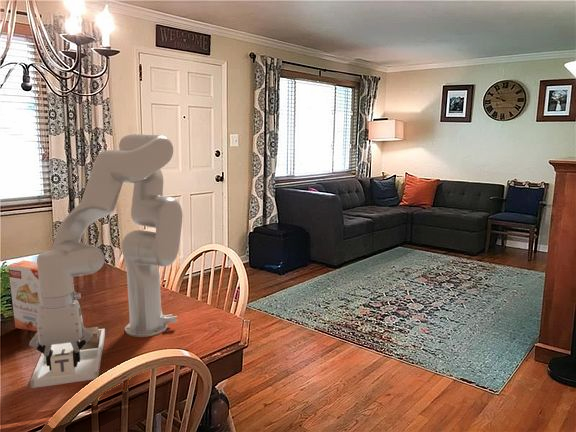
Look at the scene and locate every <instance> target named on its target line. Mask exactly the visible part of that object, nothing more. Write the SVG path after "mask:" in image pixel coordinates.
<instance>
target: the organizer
mask: <svg viewBox="0 0 576 432" xmlns="http://www.w3.org/2000/svg"><path fill="white" fill-rule="evenodd" d="M98 329H99V346H98V348H94V349H86V350H81V349H80V362H78V364H77V367H75V371H74V374H68V375H61V376H54V377H52V370H51V371H50V369H49V366H47V363H46V356H44V354H43V353H41V354H40V357H39V359H38V361H37V364H36V366H35V369H34V371H33V374H32V376H31V378H30V380H29V385H30V389H37V388H44V387H51V386H57V385H65V384H71V383H77V382H85V381H86V382H87V381H92V380H96V379H95V378H96V377H98V378H99V374H100V368H101V361H102V355H103V350H104V343H105V336H106V329H105V328H98ZM79 342H80V340H79ZM45 346H46V345H45ZM68 347H72V345H71V343H63V344H55V345H52V347H51V350H54V349H60V348H68Z"/></svg>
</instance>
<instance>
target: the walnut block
mask: <svg viewBox="0 0 576 432" xmlns="http://www.w3.org/2000/svg"><path fill="white" fill-rule="evenodd" d="M85 328H86V329H87V330H88V331H90V332H91V333H92V334H93V337H92V339H91V340H89V341H88V342H87V343H86V344H85V345H84V346H83V347H82V348H81V350H86V349H94V348H98V346H99V329H100V328H99V326H93V327H85ZM84 337H85V336H84V335H83V334H82V339H83V338H84ZM80 341H81V340H80Z"/></svg>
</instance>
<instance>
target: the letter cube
mask: <svg viewBox="0 0 576 432" xmlns="http://www.w3.org/2000/svg"><path fill="white" fill-rule="evenodd" d="M73 350H74V349H73V347H68V348H60V349H54V350H53V354H52V356H51V358H50V360H51V370H52V377H54V376H61V375H68V374H74V371H75V367H74V362H73Z"/></svg>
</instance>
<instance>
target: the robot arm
mask: <svg viewBox="0 0 576 432" xmlns="http://www.w3.org/2000/svg"><path fill="white" fill-rule="evenodd" d="M173 155H174V145H173V143H172V142H171V140H170V139H169V138H168V137H166V136H164V135H161V134H160V135H159V134H136V133H135V134H127V135H125V136H123V137H122V138H120V141H119V144H118V149H112V150H110V149H109V150H104V151H103V150H102V151H101V152H100V153H99V154H97V156H96V158H94V159H95V160H94V163H93V166H92V168H91V170H90V171H91V172H90V173H89V174H90V175H89V177H88V179H87V180H88V181H87V183H86V187H85V190H84V192H83V194H82V198H81V200H80V202H79V204H78V205H77V206H75V207H74V208H73V209H72V210H71V211H70V213H69V214H68V215H67V216H66V217H65V218H64V219H63V220H62V222H61V224H60V225H59V227H58V229H57V232H56V235H55V237H54V239H53V243H52V246H51V250H49V249H48V250H45V251H42V252H40V253H39V254H38V255H37V258H36V263H37V268H38V277H39V287H40V297H41V304H40V305H39V309H38V323H37V329H38V332H36V333H35V335H33V337H32V339H31V340H30V341H29V344H28V345H29V346H30V347H32V348H34V349H36V350H37V351H39V352H40V353H41V354H42V353H43V354H44V356H46V363H47V366H49V369H50V371H51V360H50V358H51V356H52V354H53V350H51V347H52V345H55V344H63V343H71V345H72V347H73V349H74V350H73V362H74V367H77V364H78V362H80V349H81V348H82V347H83V346H84V345H85V344H86V343H87V342H88V341H89V340H91V339H92V337H93V334H92V333H91V332H90V331H88V330H87V329H86V328H87V327H85V326H84V322H83V321H84V320H83V316H82V309H81V306H80V303H79V300H77V299H81V292H76V291H75V289H74V277H80V276H87V275H92V274H94V273H97V272H98V271H99V270H100V269H101V268H103V266H104V264H105V262H106V261H105V259H106V258H105V253H104V252H103V250H102V249H101V248H99V247H98V246H96V245H92V244H88V243H87V244H86V243H81V239H82V236H83V234H84V233H85V231H86V230H87V228H89V226H91V225H92V224H94V223H95V222H96V221H98V220H100V219H103V218H106V216H108V215H109V216H110V214H112V213H113V212H114V211H115V209H116V206H117V202H118V200H119V196H120V193H121V190H122V187H123V185H124V183H129V184H133V190H132V191H133V192H132V199H131V207H130V216H131V220H132V222H133V223H134V224H137V225H139V226H143V227H148V228H149V227H150V228H153V229H154V228H155V231H150V230H145V229H144V230H140V229H136V230H131V231H130V232H128V233H127V234H126V235H125V236H124V237H123V239H122V242H121V253H122V258H123V260H124V264H125V269H126V279H127V281H126V282H127V299H128V312H129V315H128V316H129V322H128V324H127V325H126V326H125V327H124V332H125V333H126V335H128V336H130V337H134V338H135V337H136V338H146V337H152V336H156V335H160V334H161V333H165V331H166V330H168V324H170V323H171V324H172V323H178V316H177V315H175V316H173V314H172V313H171V314H166V315H165V314H163V310H162V296H161V295H162V294H161V276H160V275H161V274H160V269H159V267H169V266H171V265H173V263H174V262H175V261H176V259H177V258H178V255H179V249H180V244H181V234H182V228H183V217H184V216H183V210H182V206H181V204H180V203H179V201H178V200H177V199H176V198H173V197H169V196H164V175H163V172H162V170H161V169H162V168H163V167H165V166H166V165H167V164H169V163H170V161H171V160H172V158H173ZM82 334H83V335H84V336H85V337H84V338H83V339H82ZM79 340H81V341H80V342H79ZM45 345H46V346H45Z"/></svg>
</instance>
